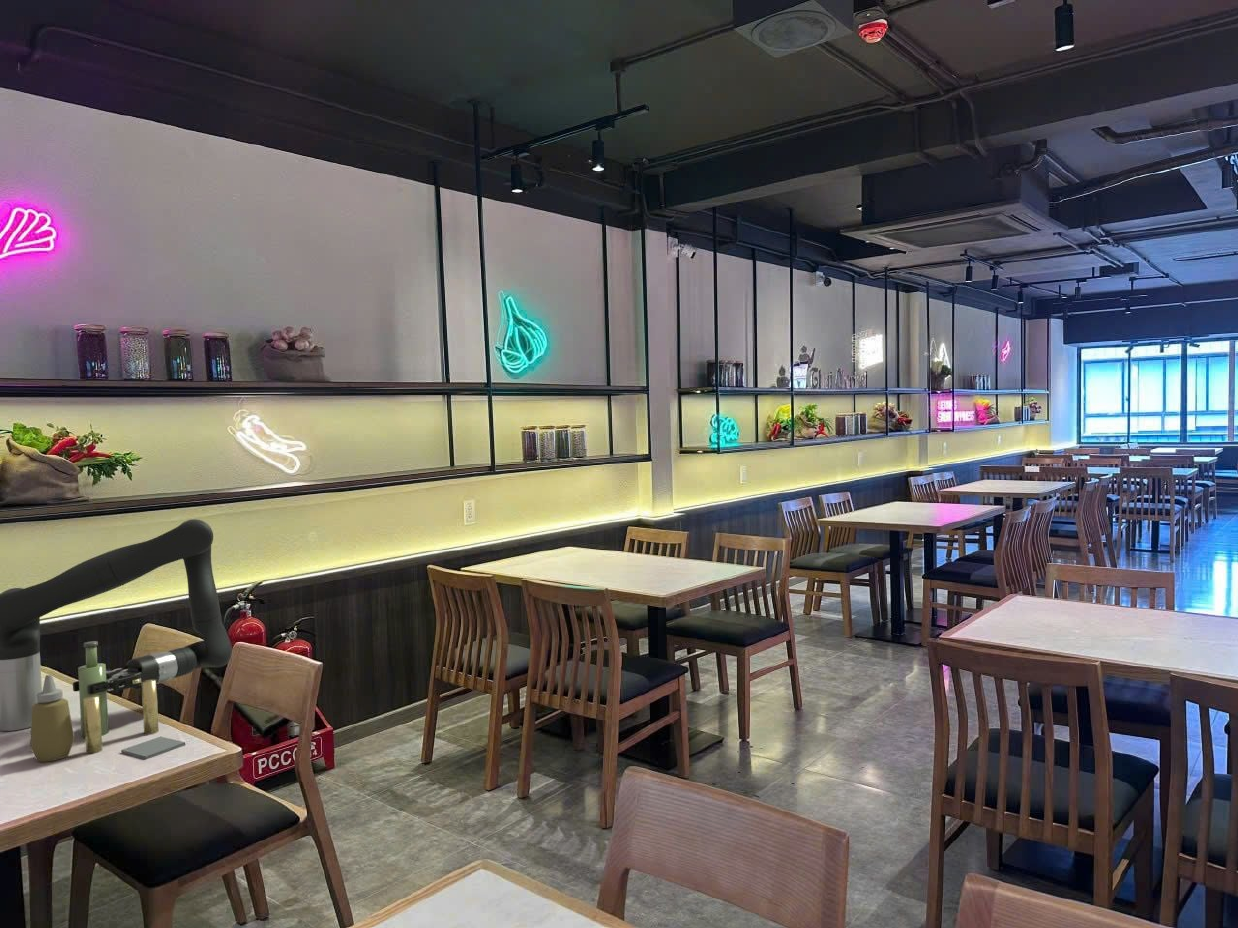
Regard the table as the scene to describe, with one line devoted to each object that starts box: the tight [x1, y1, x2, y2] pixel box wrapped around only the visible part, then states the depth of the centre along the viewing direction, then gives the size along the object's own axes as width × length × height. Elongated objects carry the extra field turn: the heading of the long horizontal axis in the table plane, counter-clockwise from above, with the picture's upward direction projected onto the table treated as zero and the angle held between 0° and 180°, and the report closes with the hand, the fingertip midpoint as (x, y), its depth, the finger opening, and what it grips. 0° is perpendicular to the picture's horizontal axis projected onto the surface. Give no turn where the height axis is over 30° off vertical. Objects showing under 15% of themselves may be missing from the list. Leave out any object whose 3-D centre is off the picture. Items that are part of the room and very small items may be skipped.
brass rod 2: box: [141, 680, 160, 735], centre depth 196 cm, size 3×3×12 cm
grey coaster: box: [120, 736, 186, 760], centre depth 185 cm, size 9×9×1 cm
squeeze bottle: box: [29, 674, 75, 763], centre depth 182 cm, size 8×8×18 cm
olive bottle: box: [77, 640, 110, 739], centre depth 196 cm, size 5×5×22 cm
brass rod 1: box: [83, 695, 103, 755], centre depth 185 cm, size 3×3×12 cm
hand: (81, 688), depth 193 cm, fingers closed on olive bottle, 5 cm apart
